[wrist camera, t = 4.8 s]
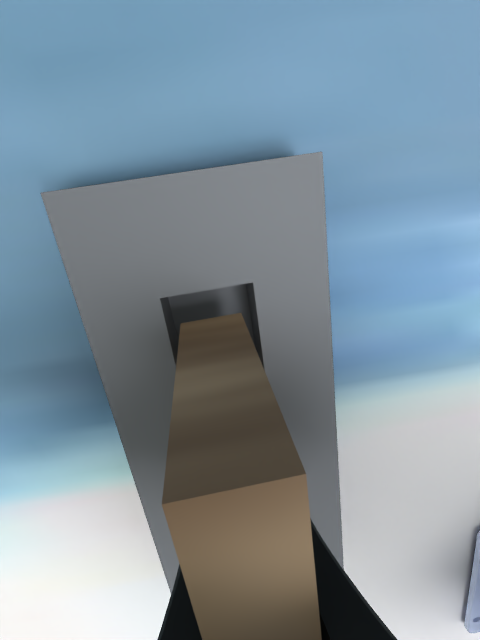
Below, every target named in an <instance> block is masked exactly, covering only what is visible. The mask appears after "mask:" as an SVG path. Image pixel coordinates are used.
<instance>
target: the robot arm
mask: <svg viewBox="0 0 480 640" xmlns="http://www.w3.org/2000/svg"><path fill="white" fill-rule="evenodd" d="M310 520H311V518H310ZM311 531H312V541H313V552H314V563H315V573H316V584H317V595H318V606H319V616H320V627H321V638H322V640H397V639H396V637H395V636H394V635H393V634H392V633H391V631H390V630H389V629H388V628H387V626H386V625H385V624H384V623H383V621H382V620H381V619H380V618H379V616H378V615H377V614H376V613H375V611H374V610H373V609H372V608H371V606H370V605H369V604H368V602H367V601H366V600H365V599H364V597H363V596H362V595H361V593H360V592H359V591H358V589H357V588H356V586H355V585H354V584H353V582H352V581H351V580H350V578H349V577H348V575H347V574H346V573H345V571H344V570H343V569H342V567H341V566H340V564H339V563H338V561H337V560H336V558H335V557H334V555H333V554H332V552H331V551H330V549H329V548H328V546H327V545H326V543H325V542H324V540H323V539H322V537H321V535H320V534H319V532H318V530H317V529H316V527H315V525H314V524H313V522H312V520H311ZM464 626H465V628H466V629H467V631H468V632H469V633H477V632H480V531H479V532H478V534H477V540H476V547H475V554H474V561H473V568H472V575H471V582H470V589H469V596H468V602H467V609H466V616H465V623H464ZM158 640H202V637H201V634H200V630H199V627H198V624H197V620H196V617H195V614H194V610H193V607H192V604H191V600H190V597H189V594H188V590H187V587H186V584H185V580H184V577H183V574H182V570H181V567H180V564H179V567H178V571H177V575H176V579H175V583H174V587H173V590H172V594H171V597H170V601H169V604H168V607H167V611H166V614H165V617H164V621H163V624H162V627H161V631H160V634H159V637H158Z"/></svg>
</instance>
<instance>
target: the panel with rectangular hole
mask: <svg viewBox="0 0 480 640" xmlns="http://www.w3.org/2000/svg"><path fill="white" fill-rule="evenodd" d="M41 196H42V199H43V202H44V205H45V208H46V211H47V214H48V217H49V220H50V223H51V227H52V230H53V233H54V236H55V239H56V242H57V245H58V248H59V251H60V254H61V257H62V260H63V263H64V266H65V270H66V273H67V276H68V279H69V282H70V285H71V288H72V291H73V294H74V297H75V300H76V303H77V306H78V309H79V312H80V316H81V319H82V322H83V325H84V328H85V331H86V334H87V337H88V340H89V343H90V346H91V349H92V352H93V355H94V359H95V362H96V365H97V368H98V371H99V374H100V377H101V380H102V383H103V386H104V389H105V392H106V395H107V398H108V401H109V405H110V408H111V411H112V414H113V417H114V420H115V423H116V426H117V429H118V432H119V435H120V438H121V441H122V444H123V448H124V451H125V454H126V457H127V460H128V463H129V466H130V469H131V472H132V475H133V478H134V481H135V484H136V487H137V490H138V494H139V497H140V500H141V503H142V506H143V509H144V512H145V515H146V518H147V521H148V524H149V527H150V530H151V533H152V537H153V540H154V543H155V546H156V549H157V552H158V555H159V558H160V561H161V564H162V567H163V570H164V573H165V576H166V579H167V583H168V586H169V589H170V592H171V594H172V590H173V587H174V583H175V579H176V575H177V571H178V567H179V560H178V557H177V554H176V550H175V547H174V544H173V540H172V537H171V534H170V530H169V527H168V524H167V520H166V517H165V514H164V511H163V507H162V497H163V487H164V478H165V468H166V459H167V449H168V440H169V430H170V421H171V411H172V401H173V392H174V382H175V373H176V363H177V354H178V344H179V335H180V325H181V323H186V322H191V321H197V320H203V319H208V318H214V317H220V316H225V315H231V314H237V313H242V316H243V318H244V321H245V323H246V326H247V328H248V331H249V333H250V336H251V338H252V341H253V343H254V346H255V348H256V351H257V353H258V356H259V358H260V361H261V363H262V366H263V368H264V371H265V373H266V375H267V378H268V380H269V383H270V385H271V388H272V390H273V393H274V395H275V398H276V400H277V403H278V405H279V408H280V410H281V413H282V415H283V418H284V420H285V423H286V425H287V428H288V430H289V432H290V435H291V437H292V440H293V442H294V445H295V447H296V450H297V452H298V455H299V457H300V460H301V462H302V465H303V467H304V470H305V472H306V477H307V488H308V499H309V509H310V518H311V520H312V522H313V524H314V525H315V527H316V529H317V530H318V532H319V534H320V535H321V537H322V539H323V540H324V542H325V543H326V545H327V546H328V548H329V549H330V551H331V552H332V554H333V555H334V557H335V558H336V560H337V561H338V563H339V564H340V566H341V567H342V569H343V570H344V568H343V548H342V529H341V509H340V490H339V470H338V450H337V431H336V411H335V392H334V372H333V352H332V333H331V313H330V294H329V274H328V254H327V235H326V215H325V196H324V176H323V156H322V152H317V153H310V154H303V155H296V156H289V157H283V158H276V159H269V160H262V161H255V162H248V163H241V164H235V165H228V166H221V167H214V168H207V169H200V170H194V171H187V172H180V173H173V174H166V175H159V176H152V177H146V178H139V179H132V180H125V181H118V182H111V183H105V184H98V185H91V186H84V187H77V188H70V189H63V190H57V191H50V192H43V193H41Z"/></svg>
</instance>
